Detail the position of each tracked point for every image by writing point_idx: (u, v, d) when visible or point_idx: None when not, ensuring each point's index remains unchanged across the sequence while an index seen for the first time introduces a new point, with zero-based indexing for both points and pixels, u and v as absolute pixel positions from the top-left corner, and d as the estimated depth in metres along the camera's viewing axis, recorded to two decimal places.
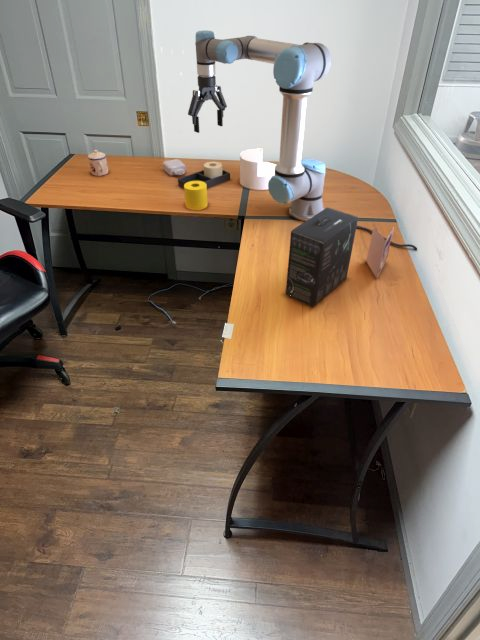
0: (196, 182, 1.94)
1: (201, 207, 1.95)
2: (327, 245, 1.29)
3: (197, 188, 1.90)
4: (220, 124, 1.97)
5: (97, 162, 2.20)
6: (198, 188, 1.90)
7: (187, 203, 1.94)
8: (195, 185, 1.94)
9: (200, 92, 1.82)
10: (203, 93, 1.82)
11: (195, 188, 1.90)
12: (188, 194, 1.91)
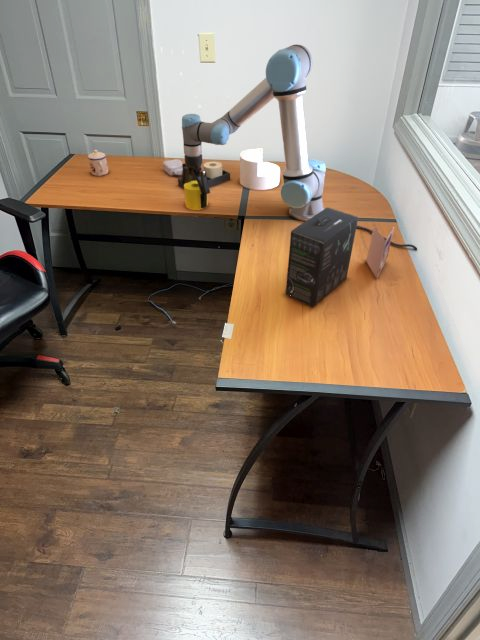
0: (196, 182, 1.94)
1: None
2: (327, 245, 1.29)
3: (197, 188, 1.90)
4: None
5: (97, 162, 2.20)
6: (198, 188, 1.90)
7: (187, 203, 1.94)
8: (195, 185, 1.94)
9: (186, 165, 1.89)
10: (188, 167, 1.89)
11: (195, 188, 1.90)
12: (188, 194, 1.91)
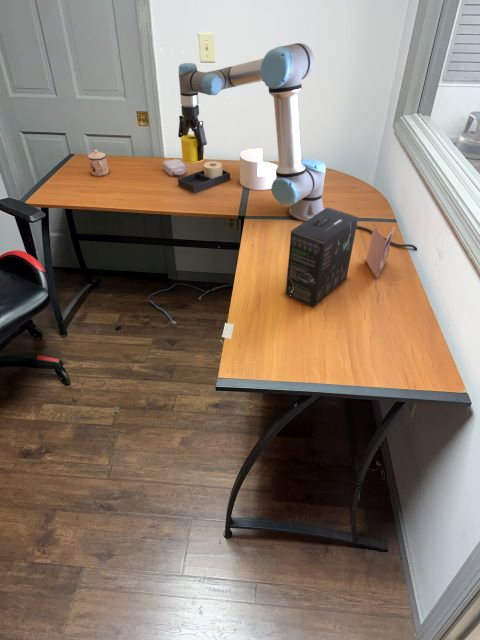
0: (193, 135, 1.97)
1: None
2: (327, 245, 1.29)
3: (194, 140, 1.92)
4: None
5: (97, 162, 2.20)
6: (195, 140, 1.92)
7: (184, 156, 1.97)
8: (192, 138, 1.97)
9: (183, 117, 1.92)
10: (184, 119, 1.91)
11: (192, 140, 1.92)
12: (185, 146, 1.94)
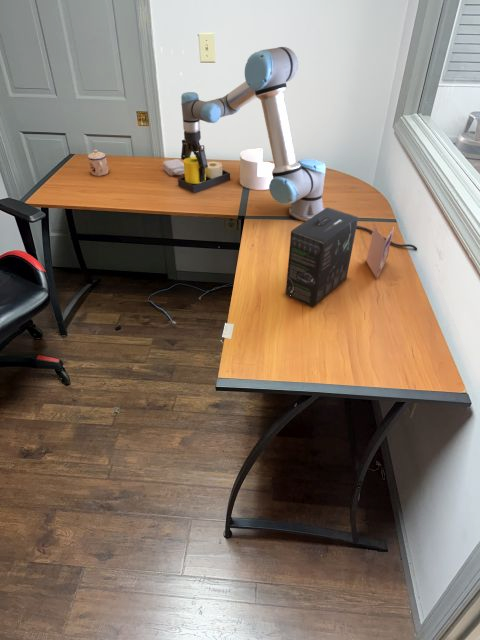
0: (195, 158, 2.09)
1: (199, 181, 2.09)
2: (327, 245, 1.29)
3: (196, 163, 2.04)
4: None
5: (97, 162, 2.20)
6: (197, 163, 2.04)
7: (186, 177, 2.09)
8: (194, 160, 2.08)
9: (186, 141, 2.03)
10: (187, 143, 2.03)
11: (194, 163, 2.04)
12: (187, 168, 2.05)
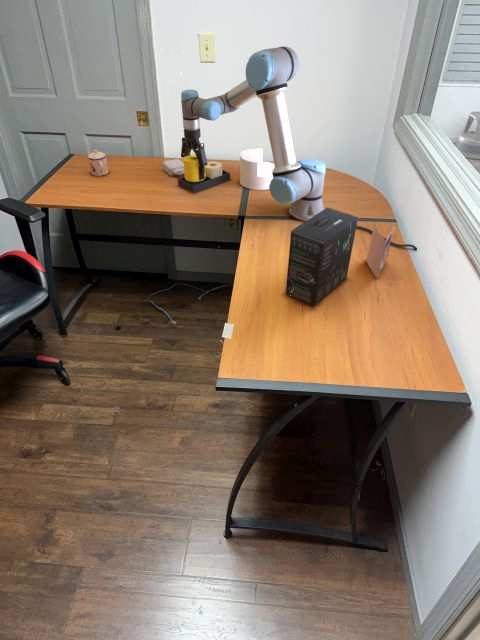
0: (194, 156, 2.08)
1: None
2: (327, 245, 1.29)
3: (195, 160, 2.03)
4: None
5: (97, 162, 2.20)
6: (196, 160, 2.03)
7: (186, 175, 2.08)
8: (194, 158, 2.08)
9: (185, 139, 2.03)
10: (187, 141, 2.02)
11: (194, 160, 2.03)
12: (187, 166, 2.04)
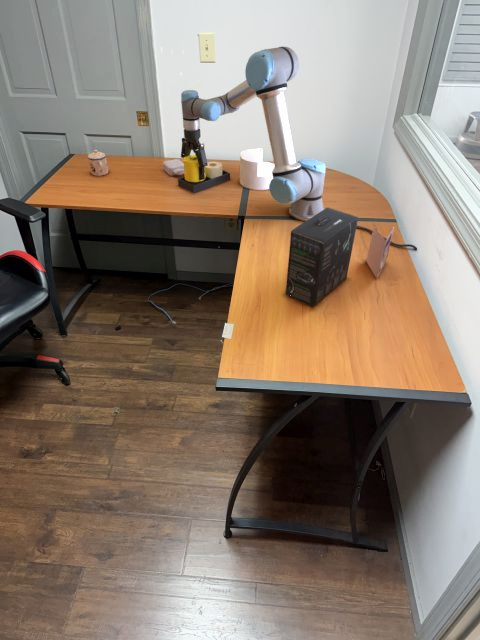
0: (194, 156, 2.08)
1: None
2: (327, 245, 1.29)
3: (195, 161, 2.03)
4: None
5: (97, 162, 2.20)
6: (196, 161, 2.03)
7: (186, 175, 2.08)
8: (194, 159, 2.08)
9: (185, 139, 2.03)
10: (187, 141, 2.02)
11: (194, 161, 2.03)
12: (187, 167, 2.05)
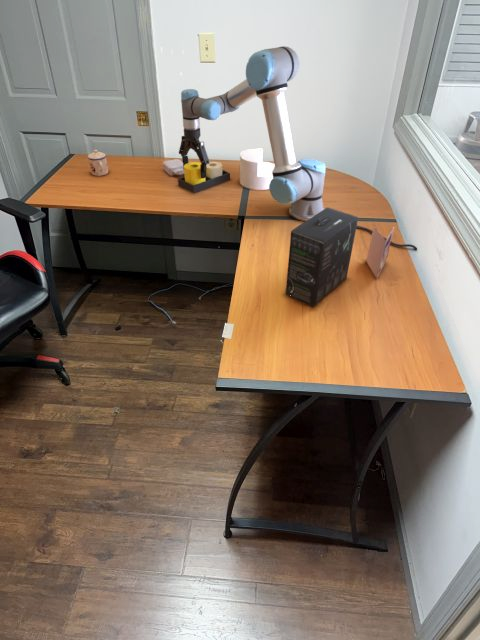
0: (195, 163, 2.10)
1: None
2: (327, 245, 1.29)
3: (196, 168, 2.06)
4: None
5: (97, 162, 2.20)
6: (197, 168, 2.06)
7: (187, 182, 2.10)
8: (194, 166, 2.10)
9: (185, 139, 2.03)
10: (187, 140, 2.02)
11: (194, 168, 2.06)
12: (188, 174, 2.07)
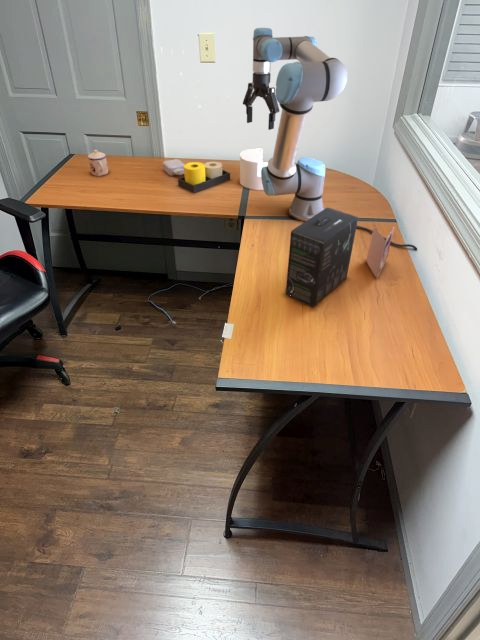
0: (195, 163, 2.10)
1: None
2: (327, 245, 1.29)
3: (196, 168, 2.06)
4: None
5: (97, 162, 2.20)
6: (197, 168, 2.06)
7: (187, 182, 2.10)
8: (194, 166, 2.10)
9: (253, 86, 1.87)
10: (254, 88, 1.87)
11: (194, 168, 2.06)
12: (188, 174, 2.07)
